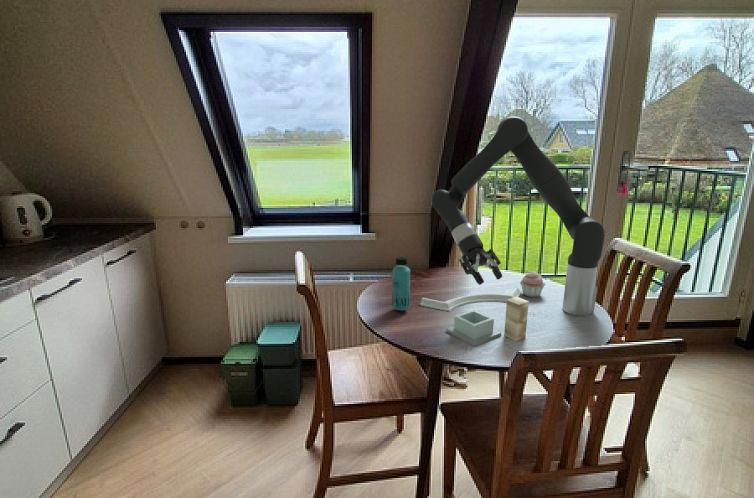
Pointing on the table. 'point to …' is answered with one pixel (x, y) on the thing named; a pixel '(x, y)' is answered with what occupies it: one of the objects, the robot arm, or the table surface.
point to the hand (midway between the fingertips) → (491, 280)
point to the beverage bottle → (401, 285)
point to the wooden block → (516, 318)
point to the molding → (470, 300)
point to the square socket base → (473, 328)
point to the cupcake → (532, 284)
